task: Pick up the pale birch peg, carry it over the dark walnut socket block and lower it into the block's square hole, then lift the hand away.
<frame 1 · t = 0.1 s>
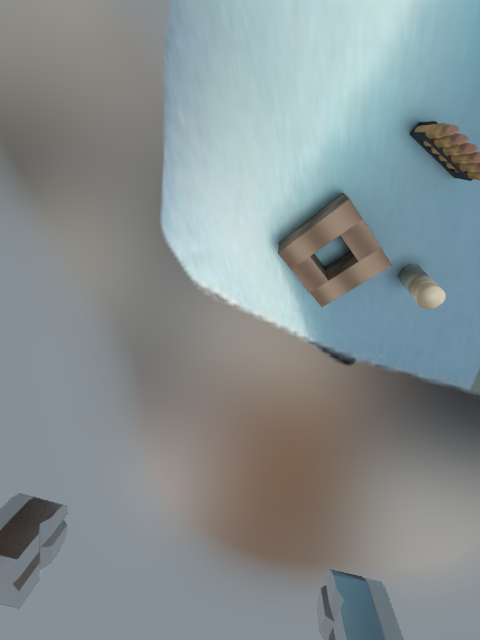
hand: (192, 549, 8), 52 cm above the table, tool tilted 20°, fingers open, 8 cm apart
socket block: (330, 248, 54), on the table
ammunition clip: (437, 150, 44), on the table
peg: (410, 274, 54), on the table
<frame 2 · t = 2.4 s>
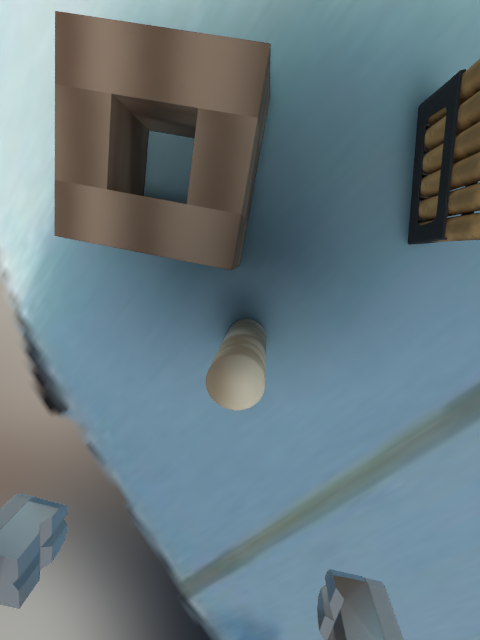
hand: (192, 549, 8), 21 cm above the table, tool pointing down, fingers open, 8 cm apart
socket block: (177, 173, 25), on the table
ammunition clip: (423, 178, 23), on the table
peg: (246, 337, 28), on the table
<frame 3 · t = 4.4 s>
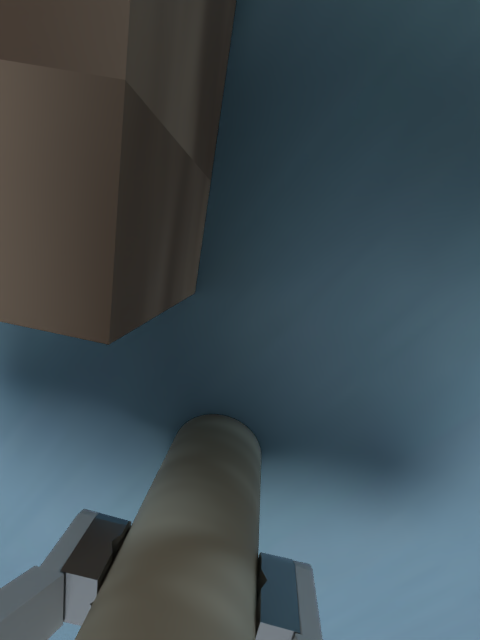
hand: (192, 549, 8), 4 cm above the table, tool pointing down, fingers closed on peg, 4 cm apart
socket block: (19, 47, 9), on the table
peg: (216, 453, 12), on the table, touching gripper
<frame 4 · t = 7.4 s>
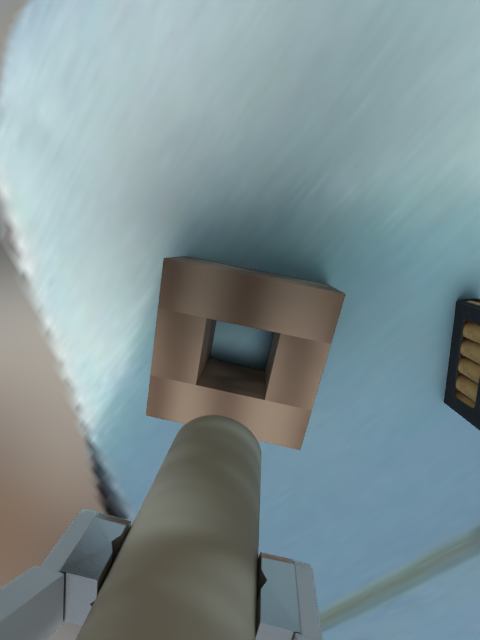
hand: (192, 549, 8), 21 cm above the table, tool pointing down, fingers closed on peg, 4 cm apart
socket block: (242, 338, 29), on the table
ammunition clip: (458, 352, 27), on the table
peg: (216, 454, 12), point 17 cm above the table, touching gripper
when the fingers open (7 cm above the table, at t = 10.5 s): peg drops 3 cm, resting in socket block.
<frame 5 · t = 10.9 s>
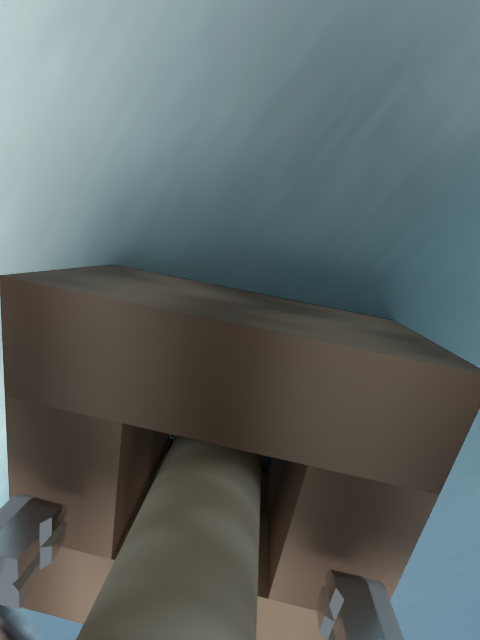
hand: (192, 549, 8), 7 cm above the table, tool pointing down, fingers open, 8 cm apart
socket block: (225, 415, 15), on the table
peg: (226, 415, 15), resting in socket block
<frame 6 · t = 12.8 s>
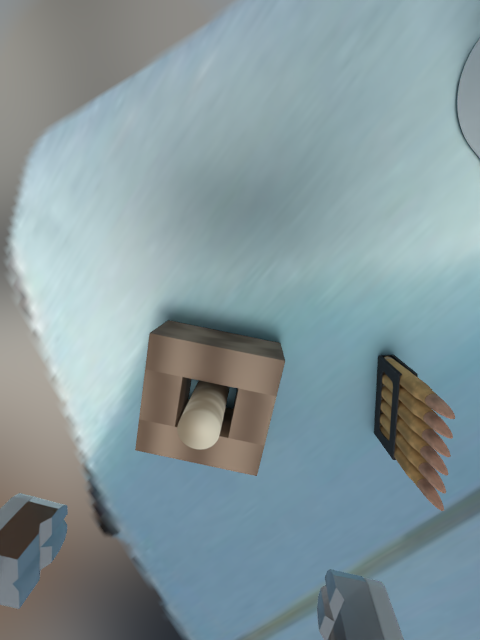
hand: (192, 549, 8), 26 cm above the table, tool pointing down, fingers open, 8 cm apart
socket block: (214, 383, 36), on the table
ammunition clip: (383, 394, 35), on the table
peg: (214, 383, 36), resting in socket block
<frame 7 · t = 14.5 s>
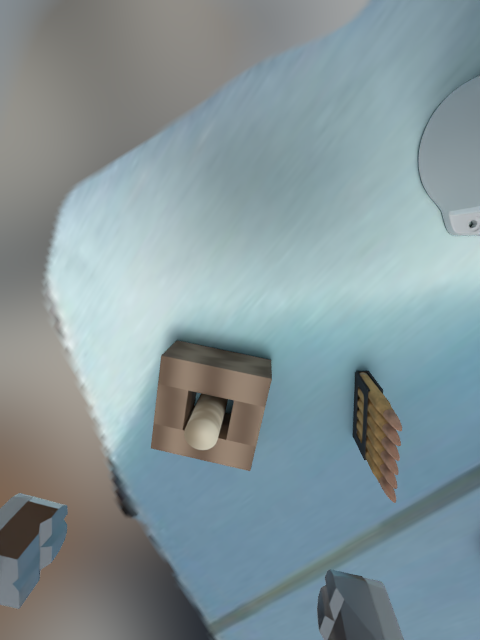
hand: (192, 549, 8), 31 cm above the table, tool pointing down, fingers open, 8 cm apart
socket block: (216, 392, 42), on the table
ammunition clip: (360, 404, 40), on the table
peg: (216, 392, 42), resting in socket block
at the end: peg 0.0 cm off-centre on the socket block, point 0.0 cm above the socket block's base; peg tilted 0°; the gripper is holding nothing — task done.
